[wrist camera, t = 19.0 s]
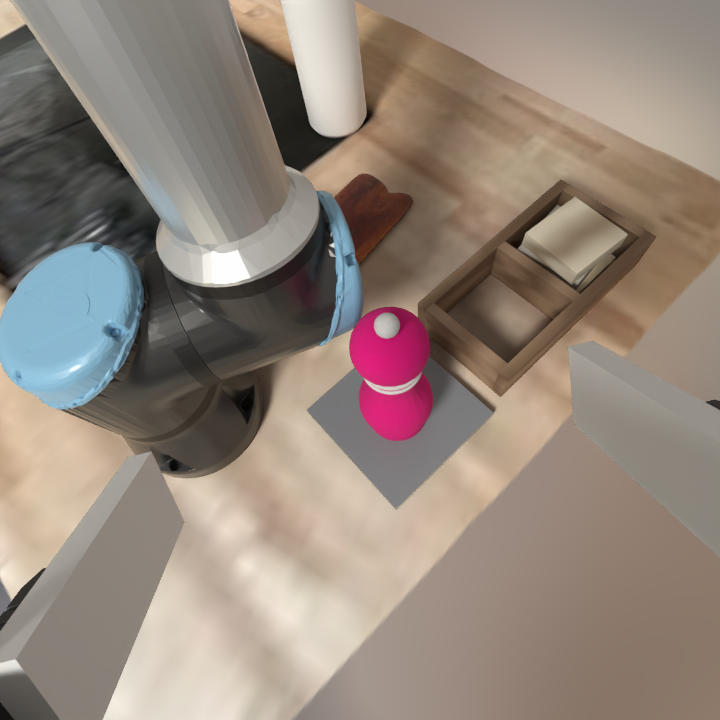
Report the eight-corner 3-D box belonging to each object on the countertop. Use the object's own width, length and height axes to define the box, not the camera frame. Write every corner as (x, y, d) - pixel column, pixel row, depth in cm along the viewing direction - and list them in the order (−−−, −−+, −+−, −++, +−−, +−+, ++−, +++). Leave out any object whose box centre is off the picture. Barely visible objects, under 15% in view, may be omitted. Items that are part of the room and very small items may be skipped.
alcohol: (371, 134, 67) (341, -158, 40) (313, 145, 68) (245, -136, 41) (362, 95, 71) (329, -195, 44) (307, 107, 72) (241, -174, 44)
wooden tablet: (361, 175, 65) (359, 166, 64) (418, 204, 62) (418, 194, 60) (232, 307, 58) (227, 300, 57) (289, 348, 55) (285, 341, 53)
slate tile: (308, 412, 50) (306, 410, 49) (399, 333, 53) (399, 329, 52) (396, 510, 45) (395, 509, 44) (492, 415, 48) (493, 412, 47)
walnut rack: (417, 325, 53) (418, 303, 49) (549, 209, 58) (560, 179, 54) (500, 396, 49) (509, 379, 44) (636, 264, 53) (656, 236, 49)
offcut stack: (505, 266, 55) (514, 233, 50) (552, 224, 57) (566, 188, 52) (565, 309, 52) (582, 279, 47) (613, 263, 54) (635, 229, 48)
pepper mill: (426, 377, 49) (432, 267, 31) (436, 442, 46) (449, 362, 28) (360, 384, 50) (329, 281, 32) (366, 449, 47) (335, 375, 29)
